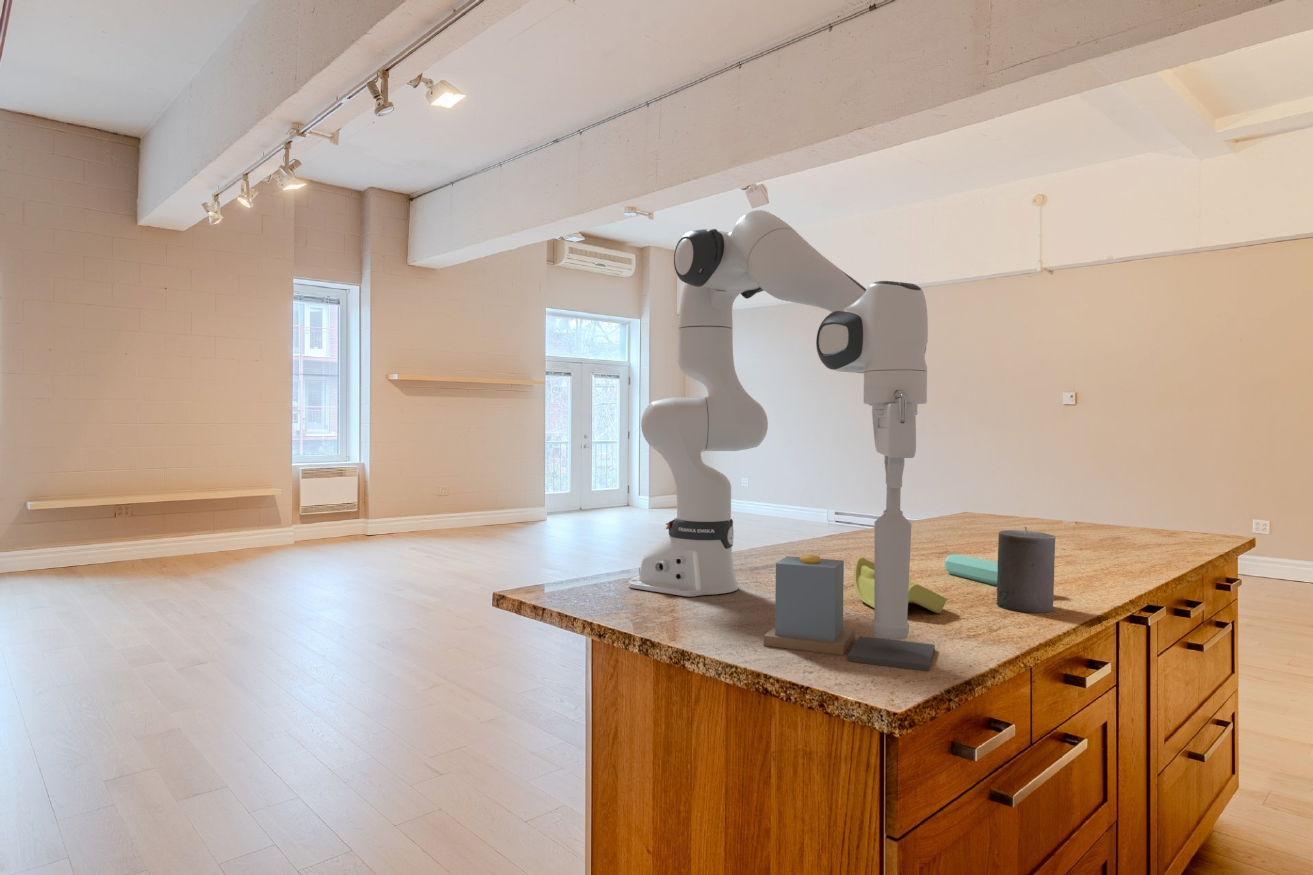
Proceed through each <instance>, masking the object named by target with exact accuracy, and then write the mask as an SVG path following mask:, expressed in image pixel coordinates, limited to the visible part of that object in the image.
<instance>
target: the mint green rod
mask: <svg viewBox="0 0 1313 875" xmlns="http://www.w3.org/2000/svg"><path fill="white" fill-rule="evenodd" d="M944 569H945V570H946V571H947V573H948V574H949V575H952V576H956V577H960V578H964V579H967V580H968V579H969V580H973V581H975V582H976V581H977V582H979V583H983V584H989V585H992V586H996V587H997V574H998V561H993V560H988V559H983V558H979V557H973V556H969V555H965V554H957V553H956V554H955V553H954V554H950V555H948V556H947V557H946V558H945V560H944Z"/></svg>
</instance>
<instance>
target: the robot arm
mask: <svg viewBox="0 0 1313 875" xmlns="http://www.w3.org/2000/svg"><path fill="white" fill-rule="evenodd" d="M673 266H674V270H675V274H676V275H677V277H678V279H679V280H680V281H681V282H682V283H684V285H683V289H682V293H681V298H680V304H679V311H678V326H677V328H678V329H677V330H678V333H677V334H678V337H677V338H678V341H677V342H678V343H677V345H678V346H677V347H678V349H677V351H678V352H677V363H678V365H679V368H680V370H681V371H682V373H684V374H685V375H686V376H688V377H689V378H691V379H692V380H695V381H697V382H699V383H701V384H703V386H705V388H706V390H707V395H708V396H705V397H689V396H688V397H686V396H685V397H682V396H681V397H680V396H679V397H678V396H676V397H674V396H673V397H667V398H661V399H658V400H653V401H652V400H651V402H650V403H649V404H648V405H647V406H646V408H645V409H644V411H643V414H642V417H641V422H640V427H641V432H642V436H643V438H644V440H645V441H646V442H647V444H648V445H649V446H650V447H651V448H653V449H654V450H655V451H656V452H658V454H660V455H661V457H662V458H664V461H666V463H667V464H668V466H669V468H670V471H671V472H672V476H673V479H674V483H675V491H676V492H675V493H676V518H674V519H672V520H670V521H668V522H667V523H665V525H667V526H665V530H668V536H667V537H666V538H665V539H663V540H661V541H660V542H659V543H658V544H657V545H655V546H653V548H651V549H650V550H648V551H647V552H646V553H645V554H644V556H643V558H642V560H641V563H640V567H639V574H638V575H637V576H633V577H632V578H631V579H629V581H628V587H629V588H630V589H635V590H636V589H637V590H643V591H649V592H654V593H655V592H657V593H663V594H669V595H676V596H680V597H697V596H706V595H708V596H710V595H719V594H720V595H721V594H727V593H733V592H736V591H737V590H738V589H739V584H738V582H737V577H736V573H735V572H736V571H735V567H734V558H733V549H732V548H733V546H734V545H733V544H734V532H735V530H734V520H733V519H732V484H731V482H730V480H729V479H728V477H727V476H726V475H725V474H723V473H722V472H720V471H718V470H716V469H715V468H713V467H711V466H709V465H707V464H706V463H704V462H703V460H702V459H703V458H702V453H703V452H738V451H745V450H749V449H754V448H757V447H759V446H760V445H761V444H762V443H763V441H764V439H765V438H766V436H767V432H768V426H769V421H768V416H767V413H766V411H765V408H763V406H762V405H761V404H760V403H759V402H758V401H757V400H756V399H754V398H753V397H752V396H751V395H750V394H749V393H748V392H747V390H746V389H745V388H744V387H743V385H742V383H741V382H740V380H739V377H738V375H737V372H736V369H735V367H736V366H735V362H734V361H735V360H734V348H733V347H734V345H733V342H734V340H733V338H734V336H733V334H734V333H733V332H734V331H733V325H734V324H733V305H734V303H735V300H736V298H737V297H738V296H740V295H741V296H742V297H743V298H744V299H746V300H747V299H750V298H753V297H754V295H756V294H758V293H761V292H766V293H767V294H769V295H770V296H772V297H774V298H776V299H777V300H781V301H785V302H790V303H794V304H795V303H796V304H801V305H805V306H806V305H807V306H812V307H815V308H820V309H823V310H826V311H828V312H830V313H829V314H828V315H826V316H825V318H824V319H823V320H822V321H821V323H820V325H819V327H818V330H817V333H816V339H815V340H816V342H815V343H816V344H815V345H816V346H815V347H816V352H817V355H818V358H819V360H820V361H821V363H822V364H823V365H824V366H825V367H826V368H827V369H829V370H832V371H836V372H840V373H841V372H842V373H856V374H863V404H865V405H868V406H871V415H872V416H871V417H872V425H873V426H872V428H873V438H874V447H875V450H876V453H878V454H881V455H883V456H884V458H883V461H884V462H883V463H884V470H885V471H884V472H885V484H886V485H887V464H888V467H889V475H888V485H889V487H891V488H902V487H903V474H904V468H905V459H912V458H914V457H915V456H916V452H917V423H916V420H917V419H916V416H918V407H919V406H918V405H925V404H927V403H928V395H927V394H928V366H927V363H926V359H925V356H926V355H925V354H926V351H927V345H928V340H929V339H928V336H929V335H928V334H929V332H928V331H929V325H928V323H929V322H928V321H929V319H928V307H927V301H926V300H927V299H926V296H925V294H924V291H923V289H922V288H921V287H920V286H919V285H916V284H915V283H910V282H909V283H908V282H904V281H903V282H902V281H893V280H892V281H890V280H879V281H874V282H871V283H870V284H868V286H867V288H866V287H864V286H863V285H862V284H861V283H860V282H858V281H857V280H856V279H854V278H853V277H852V276H851V275H849V274H847V273H846V272H845V271H843V270H842V269H840V268H839V267H838V266H837V265H835V264H834V263H833V262H832V261H830V260H829V259H827V258H826V257H825V256H824V255H822V253H820V252H819V251H818V250H817V249H815V247H814V246H812V245H811V244H810V243H809V242H808V241H807V240H806V239H804V237H802V235H801V234H799V233H798V232H797V231H796V230H795V229H794V228H793V227H792V226H791V225H789V223H787V222H785V221H784V220H783V219H781V218H780V217H778V216H776V215H774V214H773V213H771V212H769V211H766V210H763V209H762V210H761V209H760V210H759V209H758V210H757V209H756V210H753V211H749V212H747V213H745V214H743V216H741V217H740V218H739V219H738V220H737V221H736V223H735V225H734V227H733V229H732V230H731V231H730V232H728V231H721V230H718V229H717V228H709V229H708V228H706V229H705V228H704V229H703V228H702V229H697V230H696V229H695V230H691V231H688V232H686V233H685V234H683V236H681V237H680V239H679V240H678V241H677V244H676V246H675V250H674V255H673Z"/></svg>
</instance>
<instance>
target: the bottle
mask: <svg viewBox="0 0 1313 875" xmlns="http://www.w3.org/2000/svg"><path fill="white" fill-rule="evenodd" d="M888 475H889V467H888V464H887V484H886V500H885V501H886V504H885V506H886V507H885V509H884V510H883V514H882V515H881V516H880V517H878V518H877V519H876V520H875V521H874V564H875V583H874V608H873V610H874V612H873V613H874V616H873V617H874V619H873V620H872V622H871V624H872V626H871V627H872V632H873V635H874V636H875V637H876V638H880V639H889V640H898V641H901V640H905V639H907V638H908V636H909V631H910V624H909V622H908V613H909V612H908V611H909V610H908V609H909V603H908V591H909V581H910V569H911V568H910V566H911V565H910V564H911V546H912V545H911V542H912V523H911V522H910V521H909V520H908V519H907V518H906V517H905V516H904V512H903V511H902V510H901V495H902V494H901V490H902V489H901V488H902V487H901V488H891V487H889V485H888Z"/></svg>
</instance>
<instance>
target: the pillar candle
mask: <svg viewBox="0 0 1313 875" xmlns="http://www.w3.org/2000/svg"><path fill="white" fill-rule="evenodd" d="M1024 529H1025V530H1020V529H1016V530H1015V529H1014V530H1013V529H1008V530H1001V531H999V532H998V539H997V540H998V542H997V544H998V545H997V562H998V574H997V586H996V603H995V604H996V605H997V606H998V607H1000V608H1001V609H1005V610H1010V611H1015V612H1021V613H1029V614H1030V613H1033V614H1034V613H1035V614H1043V613H1049V612H1050V613H1051V612H1053V611H1054V595H1055V594H1054V593H1055V592H1054V589H1055V559H1056V558H1055V557H1056V555H1055V554H1056V535H1054V534H1050V533H1045V532H1039V531H1032V530H1031V531H1030V530H1027V526H1024Z"/></svg>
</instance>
